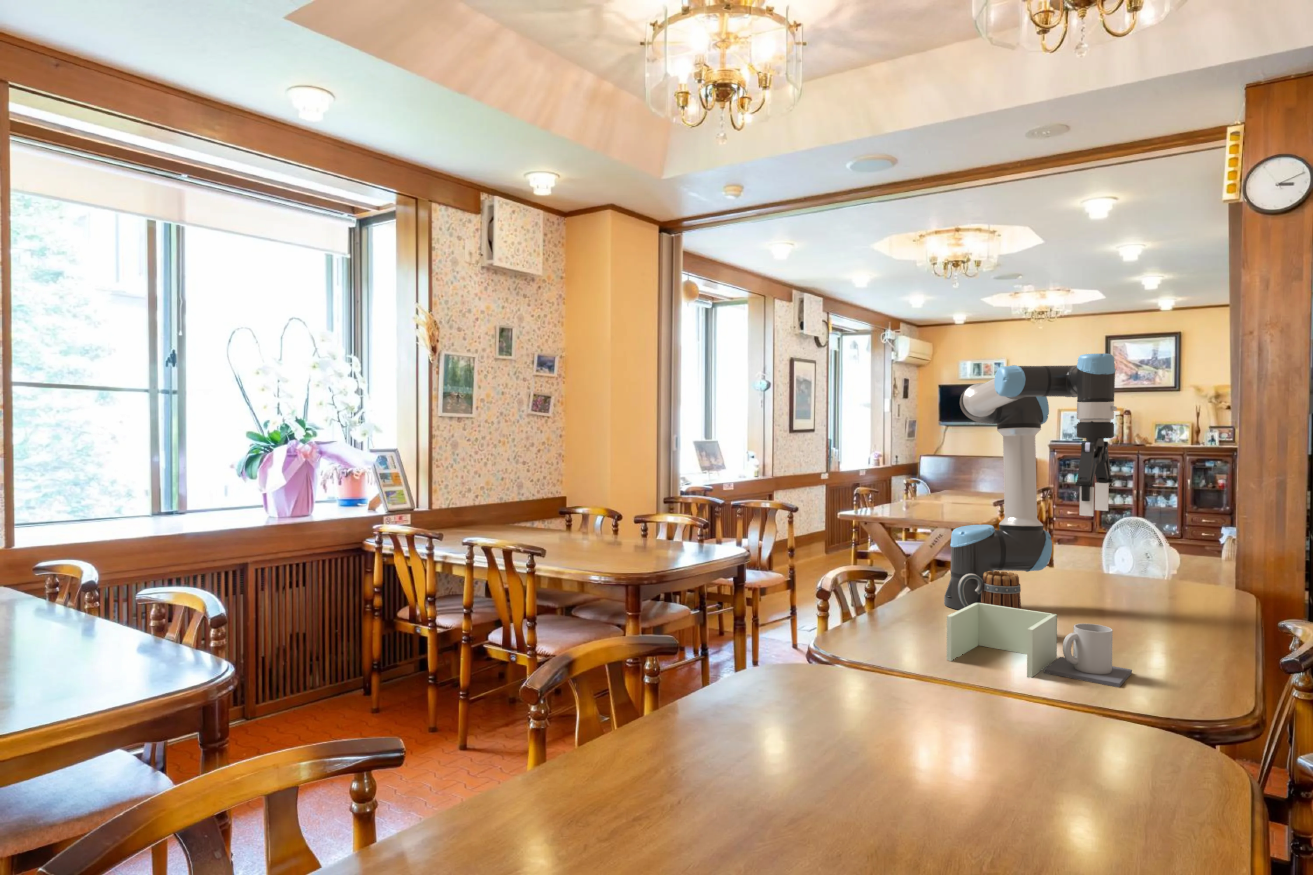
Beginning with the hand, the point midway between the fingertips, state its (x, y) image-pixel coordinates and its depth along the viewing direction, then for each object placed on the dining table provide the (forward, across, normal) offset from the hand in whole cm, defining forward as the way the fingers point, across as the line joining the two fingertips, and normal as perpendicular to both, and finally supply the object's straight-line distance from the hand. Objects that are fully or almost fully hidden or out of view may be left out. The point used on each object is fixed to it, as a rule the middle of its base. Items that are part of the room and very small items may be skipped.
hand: (1094, 513), depth 183 cm
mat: (+32, -18, -3) cm, 37 cm away
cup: (+32, -18, -3) cm, 37 cm away
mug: (+33, +2, +24) cm, 40 cm away
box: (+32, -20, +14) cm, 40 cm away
